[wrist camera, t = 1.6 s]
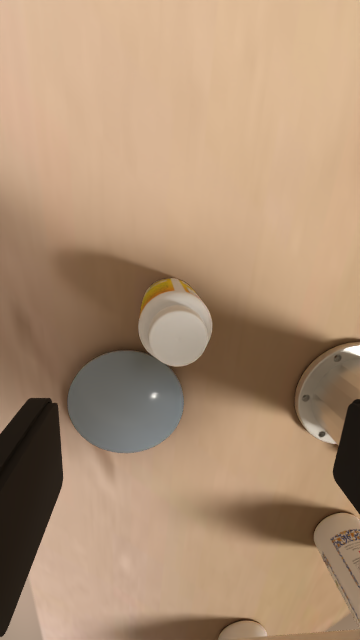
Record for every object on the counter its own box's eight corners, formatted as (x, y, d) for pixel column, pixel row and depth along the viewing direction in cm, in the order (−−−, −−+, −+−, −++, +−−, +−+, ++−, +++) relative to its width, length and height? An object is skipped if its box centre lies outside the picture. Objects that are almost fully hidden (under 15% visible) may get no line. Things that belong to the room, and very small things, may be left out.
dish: (201, 415, 32) (202, 421, 31) (109, 461, 33) (107, 470, 32) (148, 327, 29) (148, 330, 28) (47, 381, 30) (43, 386, 28)
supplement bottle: (136, 325, 29) (127, 369, 19) (148, 271, 27) (145, 289, 18) (190, 336, 30) (207, 384, 20) (204, 284, 28) (230, 308, 18)
